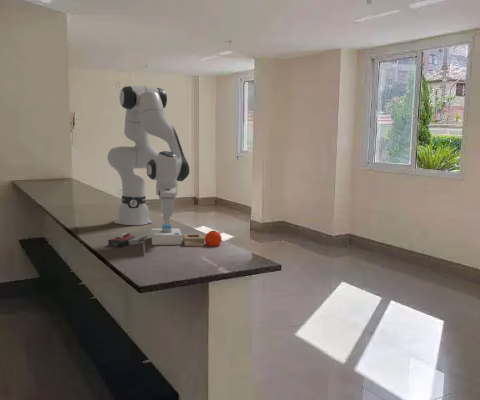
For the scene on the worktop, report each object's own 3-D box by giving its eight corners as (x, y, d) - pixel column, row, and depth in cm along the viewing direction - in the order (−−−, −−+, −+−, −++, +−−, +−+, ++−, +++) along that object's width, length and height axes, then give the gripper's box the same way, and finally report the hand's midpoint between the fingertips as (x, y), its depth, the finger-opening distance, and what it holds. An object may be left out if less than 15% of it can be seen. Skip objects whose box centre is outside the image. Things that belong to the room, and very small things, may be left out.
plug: (161, 239, 210) (162, 223, 209) (170, 239, 211) (170, 223, 210) (162, 241, 207) (162, 225, 206) (170, 241, 208) (170, 225, 207)
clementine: (205, 244, 209) (206, 228, 208) (222, 245, 209) (222, 228, 208) (203, 248, 201) (204, 231, 200) (220, 249, 201) (221, 232, 200)
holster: (182, 242, 210) (182, 233, 210) (201, 242, 212) (201, 233, 212) (184, 248, 201) (185, 238, 200) (204, 248, 202) (204, 238, 202)
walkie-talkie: (124, 249, 197) (149, 240, 215) (124, 238, 196) (149, 230, 215) (105, 247, 199) (131, 238, 218) (105, 236, 199) (131, 228, 218)
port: (151, 239, 215) (151, 227, 214) (178, 239, 217) (179, 227, 216) (152, 247, 201) (152, 234, 200) (181, 246, 203) (181, 234, 203)
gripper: (158, 187, 216) (157, 218, 218) (160, 193, 196) (159, 227, 198) (172, 187, 217) (171, 218, 219) (176, 194, 197) (175, 227, 199)
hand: (166, 222), depth 208 cm, fingers open, 8 cm apart
